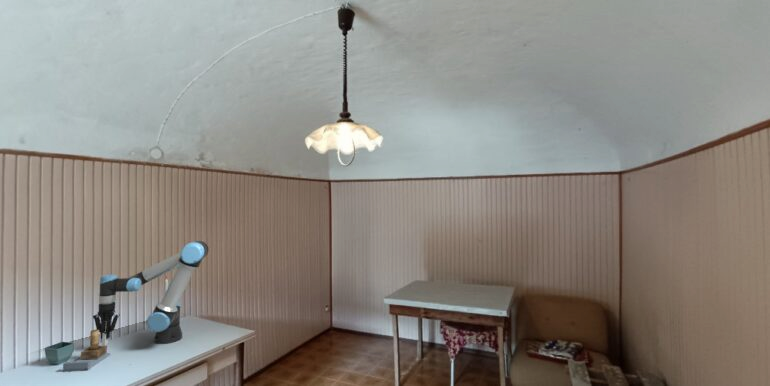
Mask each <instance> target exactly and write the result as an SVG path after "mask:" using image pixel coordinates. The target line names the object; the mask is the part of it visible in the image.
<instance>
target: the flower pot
mask: <svg viewBox="0 0 770 386" xmlns="http://www.w3.org/2000/svg"><path fill="white" fill-rule="evenodd" d="M75 344H76V343H75V342H68V341H60V342H57V343H54V344H51V345H49V346H45V347H44V354H45V358H46V361H48V363H49V364H52V365H61V364H64V363H65V362H69V360H70V359H71V357H72V355H73V353H74V350H75V349H74V348H75Z"/></svg>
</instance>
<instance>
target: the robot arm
mask: <svg viewBox="0 0 770 386" xmlns="http://www.w3.org/2000/svg"><path fill="white" fill-rule="evenodd" d="M209 248H210V247H209V246H208V244H207V243H206V242H205V241H202V240H196V241H192V242H189V243H187V244H186V245H184V246H183V248H182V249H181V251H180V252H179V253H177V254H174V255H172V256H170V257H168V258H166V259H164V260H163V261H161V262H158V263H156V264H154V265H151V266H150V267H148V268H146V269H144V270H142V271H139V272H138V273H136V274H134V275H132V276H128V277H125V278H123V277H121V278H120V277H118V276H117V274H112V273H111V274H105V275H101V276H100V279H99V293H98V294H99V297H98V303H99V304H98V312H97V313H96V314H94V315H93V316H92V319H93V320H94V325H95V327H96V328H95V330H99V334H100V339H101V346H105V345H107V344H108V343H109V339H110V337H111V332H113V331H114V330H115V328H116V324H117V321H118V318H119V317H120V315H121V314H120V313H117V312H116V310H115V309H116V297H117V295H116V294H117V293H118V292H120V293H123V292H128V293H129V292H139V290H140V289H141V288H142V287H141V286H143V285H145V284H146V283H149V282H150V281H151V282H152V281H153V280H155V279H156V278H159V277H161V276H162V275H166V274H167V273H169V272H171V271H172V270H175V269H176V271H175V273H174V275H173V277H172V279H171V282H170V283H169V284H168V289H167V291H166V293H165V292H164V295H163V297H162V299H161V301H160V302H158V303H157V304H156V305H155V307H154V308H153V311H152V312H151V314H150V315H149V316H148V317H147V319H146V326H147V328H148V329H149V330H150V331H152V332H155V335H154V337H153V339H154V340H153V342H154V343H155V344H160V345H161V344H163V345H164V344H170V343H175V342H178V341H180V340H182V339H183V331H182V329H181V326H180V325H181V323H180V322H181V321H180V320H181V308H182V307H181V302H180V300H181V298H182V296H183V293H184V291H185V290H186V288H187V285H188V284H189V282H190V279H191V278H192V275H193V273H194V271H195V270H196V269H198V268H199V267H200V264H201V263H202V261H203V259H204V258H206V257H207V255H208V254H209ZM112 318H113V319H112Z"/></svg>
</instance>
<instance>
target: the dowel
mask: <svg viewBox="0 0 770 386" xmlns="http://www.w3.org/2000/svg"><path fill="white" fill-rule="evenodd" d="M89 334H90V336H89V337H90V339H89V340H90V341H89V347H90V350H97V349H98V347H99V346H100V345H99V343H100V342H99V341H100V340H99V339H100V332H99V330H97V329H92V330H90V333H89Z"/></svg>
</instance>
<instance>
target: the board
mask: <svg viewBox="0 0 770 386" xmlns="http://www.w3.org/2000/svg"><path fill="white" fill-rule="evenodd" d="M110 356H111V352H107V353H106V354H104V355H103V356H101V357H100V358H98V359H84V360H81V358H79V359H77V360H76V361H66V362H63V363H62V372H63V373H65V372H69V373H70V372H85V371H86V372H87V371H89V370H91V369H92V368H94V367H95V366H96V365H98V364H99V363H101V362H102V361H103V360H105V359H107V358H108V357H110Z"/></svg>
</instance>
